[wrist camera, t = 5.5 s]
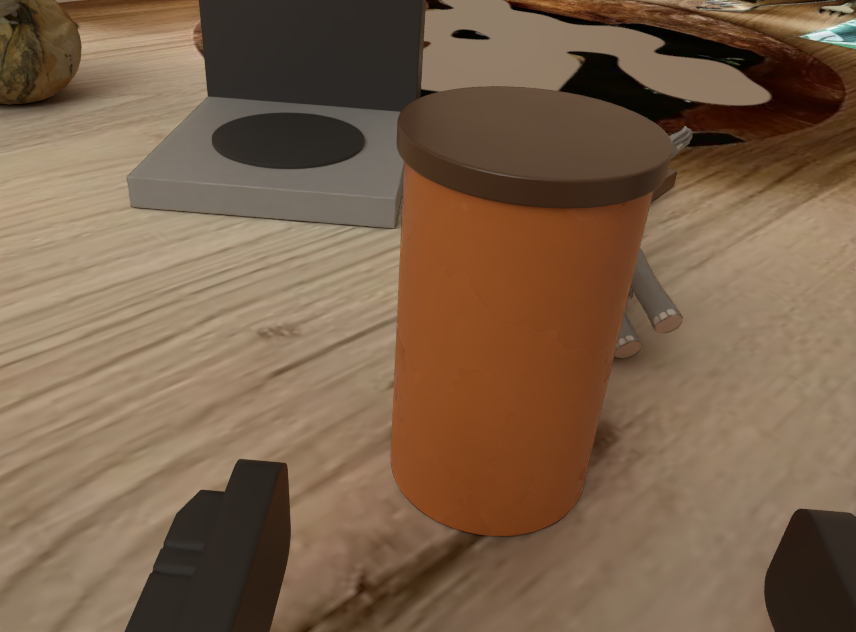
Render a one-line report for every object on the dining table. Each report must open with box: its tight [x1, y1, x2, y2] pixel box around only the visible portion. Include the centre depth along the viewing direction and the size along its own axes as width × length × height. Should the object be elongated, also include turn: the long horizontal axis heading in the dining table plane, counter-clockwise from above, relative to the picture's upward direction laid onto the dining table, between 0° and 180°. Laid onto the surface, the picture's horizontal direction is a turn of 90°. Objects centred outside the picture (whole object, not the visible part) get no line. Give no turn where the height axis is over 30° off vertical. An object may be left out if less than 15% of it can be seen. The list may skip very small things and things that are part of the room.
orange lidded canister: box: [391, 86, 673, 536], centre depth 20 cm, size 6×6×10 cm
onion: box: [0, 0, 81, 105], centre depth 44 cm, size 8×8×8 cm
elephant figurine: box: [614, 126, 692, 358], centre depth 29 cm, size 10×6×9 cm
